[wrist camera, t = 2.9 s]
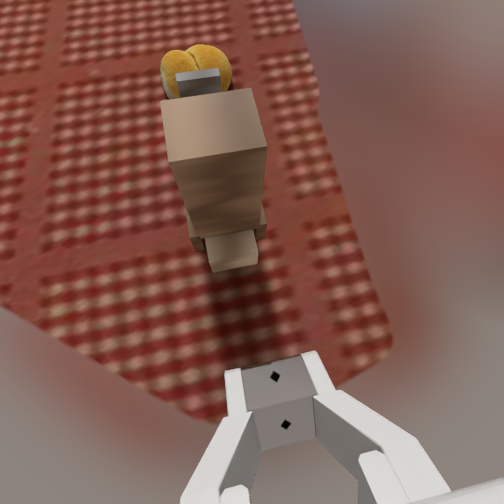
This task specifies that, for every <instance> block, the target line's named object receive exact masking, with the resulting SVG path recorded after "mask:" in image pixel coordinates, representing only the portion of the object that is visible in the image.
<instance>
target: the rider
mask: <svg viewBox="0 0 504 504" xmlns="http://www.w3.org/2000/svg"><path fill="white" fill-rule="evenodd" d="M160 104H161V111H162V119H163V126H164V133H165V140H166V147H167V154H168V161H169V164H170V167H171V170H172V172H173V175H174V177H175V180H176V183H177V185H178V188H179V190H180V193H181V195H182V198H183V201H184V204H185V210H186V217H187V223H188V230H189V236H190V240H191V242H192V244H193V246H194V248H195V251H196V252H198V251H203V250H205V247H204V241H203V238H208V237H214V236H219V235H225V234H230V233H235V232H241V231H246V230H251V229H253V230H254V234H255V238H256V240H261V239H265V233H266V227H267V222H266V218H265V214H264V210H263V206H262V195H263V184H264V174H265V163H266V153H267V144H266V140H265V137H264V133H263V129H262V126H261V122H260V119H259V115H258V111H257V108H256V104H255V100H254V97H253V93H252V90H251V88H246V89H239V90H232V91H226V92H219V93H212V94H205V95H198V96H191V97H184V98H177V99H170V100H163V101H160Z"/></svg>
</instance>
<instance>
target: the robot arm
mask: <svg viewBox="0 0 504 504" xmlns="http://www.w3.org/2000/svg"><path fill="white" fill-rule="evenodd" d="M224 376H225V387H226V398H227V409H228V417H224V418H223V419H222V421H221V423H220V425H219V427H218V429H217V431H216V432H215V434H214V436H213V438H212V440H211V442H210V444H209V446H208V448H207V449H206V451H205V453H204V455H203V457H202V459H201V461H200V462H199V464H198V466H197V468H196V470H195V472H194V474H193V476H192V477H191V479H190V481H189V483H188V485H187V487H186V489H185V491H184V492H183V494H182V496H181V498H180V504H252V503H251V499H250V495H249V494H250V491H251V488H252V484H253V481H254V477H255V475H256V471H257V468H258V465H259V462H260V459H261V455H262V453H261V452H265V451H268V450H272V449H275V448H279V447H282V446H286V445H289V444H294V443H298V442H303V441H308V440H312V439H317V441H318V442H319V443H320V444H321V445H322V446H324V448H325V449H326V450H327V451H328V452H329V453H330V454H331V455H332V456H333V457H334V458H335V459H337V460H338V461H339V462H340V463H341V464H342V465H343V466H344V467H345V468H346V469H347V470H348V471H349V472H350V473H351V474H352V475H353V476H354V477H355V478H356V479H357V480H358V504H504V477H502V478H499V479H495V480H491V481H488V482H484V483H481V484H477V485H473V486H470V487H466V488H462V489H459V490H455V491H451V490H450V488H449V487H448V485H447V484H446V482H445V481H444V479H443V478H442V476H441V475H440V474H439V472H438V470H437V469H436V467H435V466H434V464H433V463H432V462H431V460H430V458H429V457H428V455H427V454H426V452H425V451H424V450H423V448H422V447H421V445H420V443H419V442H418V441H417V439H416V438H415V437H413V436H412V435H410V434H408V433H407V432H405V431H404V430H402V429H401V428H399V427H398V426H396V425H394V424H393V423H391V422H390V421H388V420H387V419H385V418H384V417H382V416H381V415H379V414H378V413H376V412H374V411H373V410H371V409H370V408H368V407H367V406H365V405H364V404H362V403H361V402H359V401H357V400H356V399H354V398H353V397H351V396H350V395H348V394H347V393H345V392H343V391H342V390H337V391H336V390H335V388H334V386H333V384H332V382H331V380H330V378H329V376H328V373H327V371H326V369H325V367H324V365H323V363H322V361H321V359H320V357H319V355H318V353H317V352H316V351H311V352H307V353H303V354H300V355H299V354H298V355H294V356H290V357H286V358H282V359H277V360H273V361H270V362H265V363H260V364H255V365H250V366H245V367H241V368H237V369H232V370H227V371H225V375H224Z"/></svg>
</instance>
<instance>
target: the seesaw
mask: <svg viewBox="0 0 504 504" xmlns="http://www.w3.org/2000/svg"><path fill="white" fill-rule="evenodd" d="M175 75H176V81H177V85H178V89H179V93H180V97H181V98H184V97H191V96H198V95H205V94H212V93H219V92H221V81H220V73H219V69H218V68H212V69H205V70H198V71H190V72H183V73H176V74H175ZM205 242H206V248H207V254H208V260H209V264H210V266H211V269H212V272H213V273H214V272H219V271H224V270H229V269H235V268H240V267H245V266H250V265H255V264H257V261H258V248H257V244H256V240H255V235H254V231H253V229H251V230H246V231H241V232H235V233H230V234H225V235H219V236H214V237H208V238H205Z"/></svg>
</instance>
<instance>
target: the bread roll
mask: <svg viewBox="0 0 504 504" xmlns="http://www.w3.org/2000/svg"><path fill="white" fill-rule="evenodd" d="M212 68H218V69H219V73H220V81H221V92H226V91H227V90H228V87H229V85H230V83H231V78H232V70H231V66H230V63H229V61H228V59H227V57H226V56H225V55H224V54H223V52H221V51H220V50H219V49H217V48H215V47H213V46H208V45H199V44H197V45H195V46H192V47H190V48H189V49H188V50H186V51H185V52H184V51H181V50H173V51H170V52H168V53H167V54H166V55H165V56H164V57H163V59H162V61H161V69H160V72H161V80H162V84H163V87H164V90H165V92H166V94H167V97H168V98H169V99H177V98H181V97H180V93H179V89H178V85H177V81H176V75H175V74H176V73H183V72H190V71H198V70H205V69H212Z"/></svg>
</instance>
